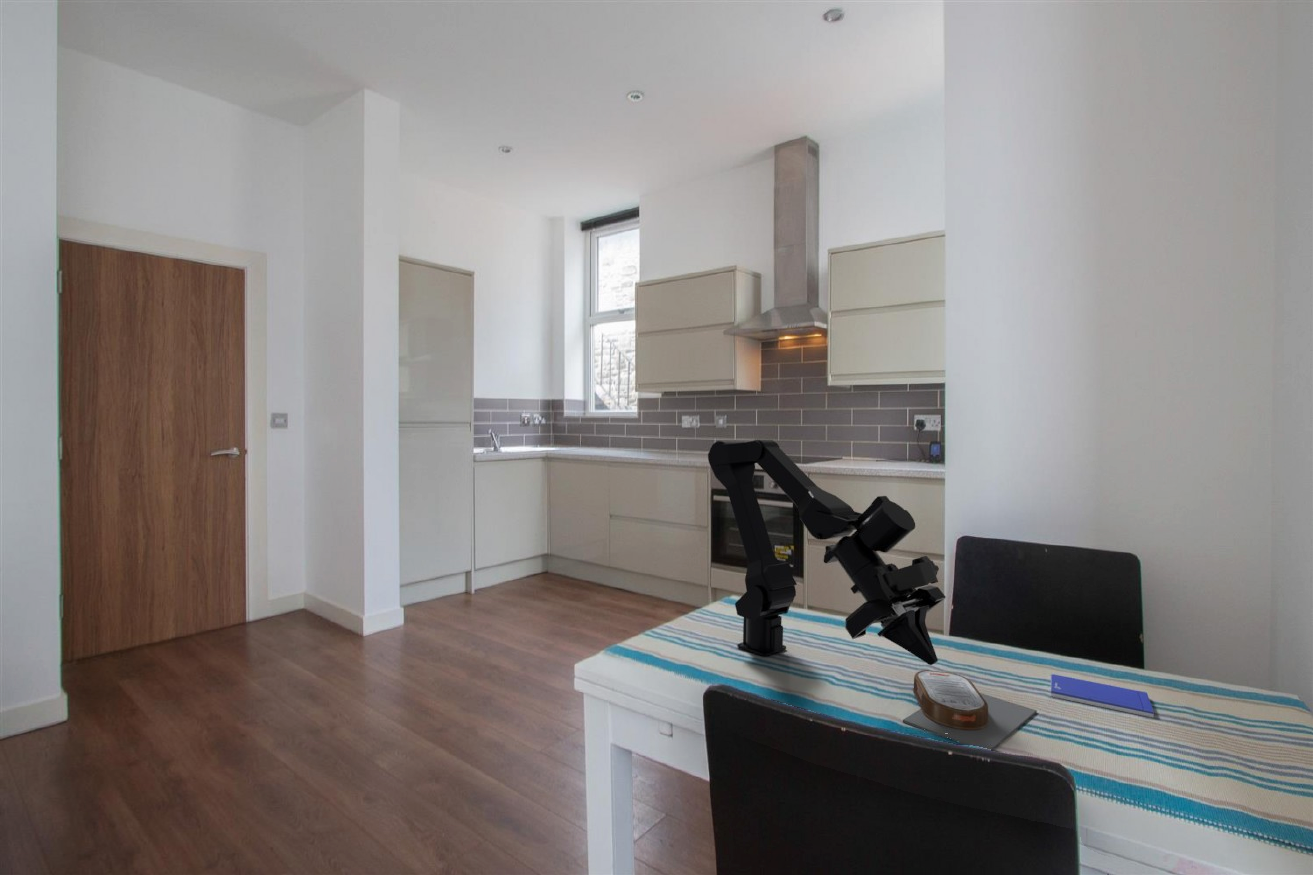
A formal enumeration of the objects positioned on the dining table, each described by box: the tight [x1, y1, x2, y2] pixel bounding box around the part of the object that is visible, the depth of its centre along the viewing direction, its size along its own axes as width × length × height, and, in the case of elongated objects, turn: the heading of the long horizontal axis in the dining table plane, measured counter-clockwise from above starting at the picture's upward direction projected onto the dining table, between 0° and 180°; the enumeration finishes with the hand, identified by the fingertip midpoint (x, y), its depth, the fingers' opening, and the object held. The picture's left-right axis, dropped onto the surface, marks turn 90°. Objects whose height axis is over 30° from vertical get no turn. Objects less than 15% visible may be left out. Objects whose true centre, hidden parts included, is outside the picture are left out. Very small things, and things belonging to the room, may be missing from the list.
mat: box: [902, 692, 1038, 751], centre depth 88 cm, size 11×18×1 cm, turn 132°
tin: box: [912, 669, 989, 730], centre depth 91 cm, size 15×3×8 cm
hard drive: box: [1049, 673, 1155, 718], centre depth 96 cm, size 2×8×12 cm
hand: (934, 663), depth 88 cm, fingers closed
